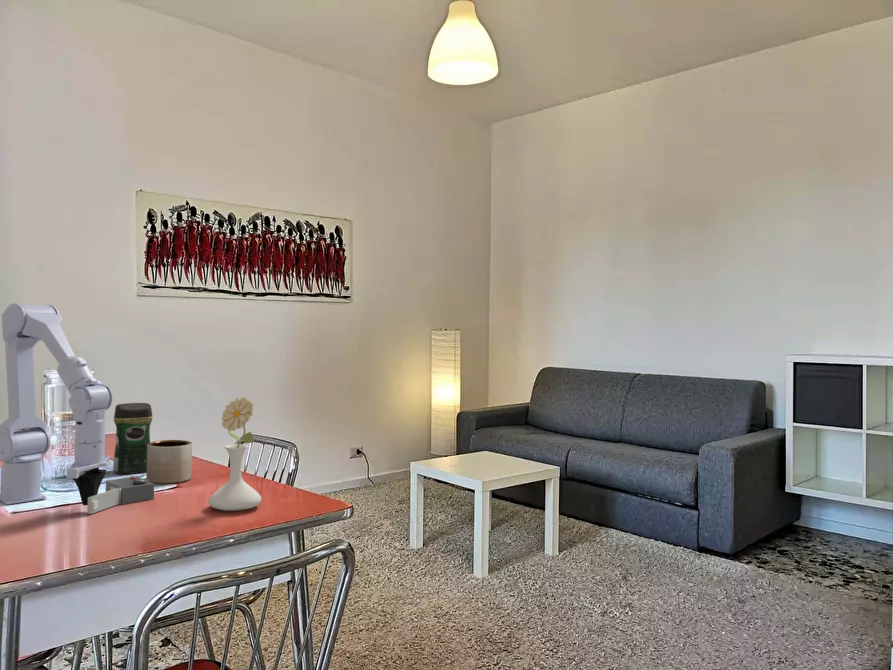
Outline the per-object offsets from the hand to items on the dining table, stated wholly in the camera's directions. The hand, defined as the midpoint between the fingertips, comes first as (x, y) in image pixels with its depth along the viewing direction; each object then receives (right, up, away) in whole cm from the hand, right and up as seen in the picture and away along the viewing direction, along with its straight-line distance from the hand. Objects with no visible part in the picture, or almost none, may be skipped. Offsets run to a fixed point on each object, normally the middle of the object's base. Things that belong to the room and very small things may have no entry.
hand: (88, 504), depth 147 cm
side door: (+3, -1, +2) cm, 3 cm away
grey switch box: (+3, -1, +12) cm, 13 cm away
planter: (+5, -1, +31) cm, 31 cm away
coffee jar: (-9, -1, +40) cm, 40 cm away
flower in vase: (+30, -2, +5) cm, 31 cm away
